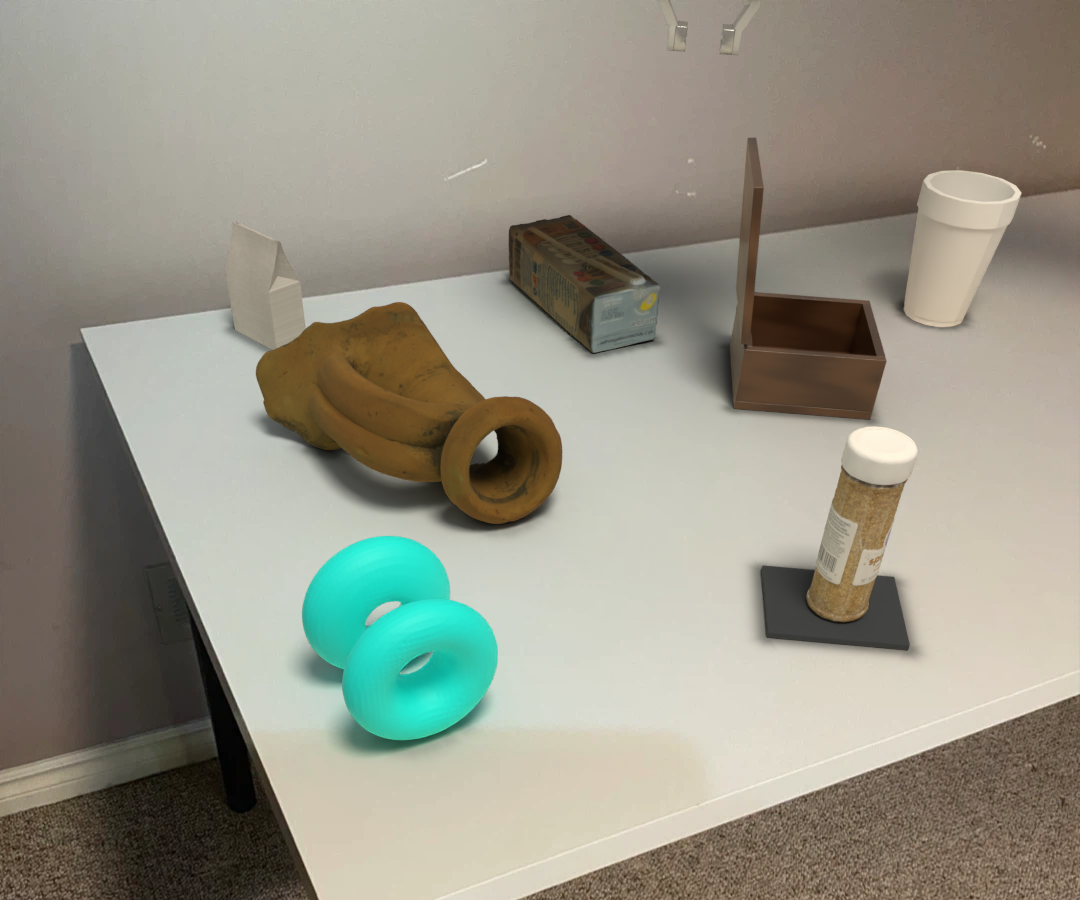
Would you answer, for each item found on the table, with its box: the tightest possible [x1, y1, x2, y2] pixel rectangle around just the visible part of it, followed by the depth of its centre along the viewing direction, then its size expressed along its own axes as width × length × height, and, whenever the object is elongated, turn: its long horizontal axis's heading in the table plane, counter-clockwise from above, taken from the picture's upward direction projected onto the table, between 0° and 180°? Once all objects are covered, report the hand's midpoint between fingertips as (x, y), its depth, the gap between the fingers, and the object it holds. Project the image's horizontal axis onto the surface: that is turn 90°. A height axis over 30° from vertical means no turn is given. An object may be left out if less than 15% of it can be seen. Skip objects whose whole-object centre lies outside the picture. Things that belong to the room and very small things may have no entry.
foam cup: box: [903, 169, 1022, 328], centre depth 111 cm, size 10×9×13 cm
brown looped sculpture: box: [255, 301, 563, 525], centre depth 86 cm, size 18×13×22 cm
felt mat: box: [760, 564, 911, 651], centre depth 79 cm, size 10×8×1 cm
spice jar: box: [806, 425, 919, 622], centre depth 74 cm, size 5×5×14 cm
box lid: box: [735, 137, 765, 344], centre depth 95 cm, size 13×13×1 cm
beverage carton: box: [508, 214, 661, 354], centre depth 111 cm, size 8×19×7 cm, turn 27°
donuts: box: [301, 535, 499, 741], centre depth 67 cm, size 10×10×10 cm
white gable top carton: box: [224, 221, 307, 351], centre depth 103 cm, size 4×7×10 cm, turn 48°
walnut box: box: [729, 291, 888, 421], centre depth 102 cm, size 13×13×6 cm
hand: (702, 51), depth 85 cm, fingers open, 3 cm apart
